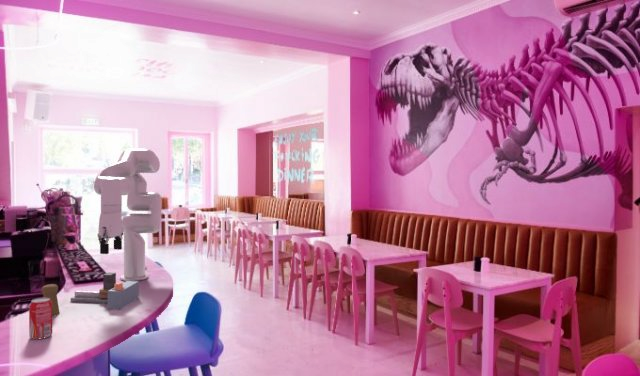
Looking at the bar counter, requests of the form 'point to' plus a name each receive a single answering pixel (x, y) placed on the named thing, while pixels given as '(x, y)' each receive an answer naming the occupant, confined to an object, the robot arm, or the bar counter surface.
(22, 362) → the bar counter surface
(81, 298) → the rail
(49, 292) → the cork
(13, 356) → the bar counter surface
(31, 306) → the beverage can
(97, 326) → the bar counter surface
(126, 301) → the cabinet
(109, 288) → the carriage
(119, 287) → the button
